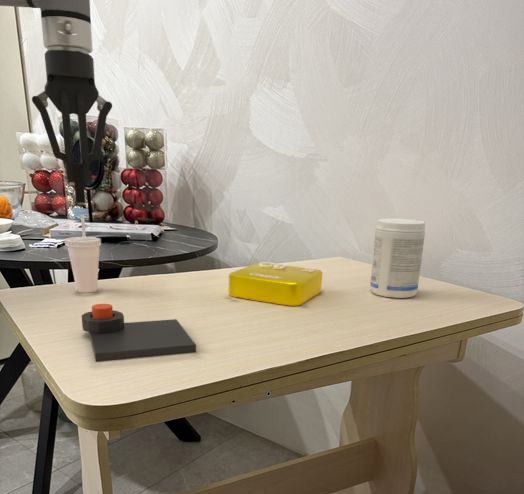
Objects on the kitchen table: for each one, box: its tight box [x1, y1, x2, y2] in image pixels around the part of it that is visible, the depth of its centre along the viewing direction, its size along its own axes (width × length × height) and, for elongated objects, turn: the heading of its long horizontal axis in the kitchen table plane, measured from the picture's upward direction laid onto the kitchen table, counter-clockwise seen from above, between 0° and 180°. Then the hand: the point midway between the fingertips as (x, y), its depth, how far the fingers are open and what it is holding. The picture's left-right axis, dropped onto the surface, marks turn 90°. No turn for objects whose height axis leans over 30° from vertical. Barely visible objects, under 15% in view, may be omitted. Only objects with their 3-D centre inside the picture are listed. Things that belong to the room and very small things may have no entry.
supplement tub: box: [369, 218, 426, 299], centre depth 105 cm, size 10×10×15 cm
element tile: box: [228, 261, 323, 307], centre depth 102 cm, size 15×15×5 cm
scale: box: [81, 309, 197, 363], centre depth 73 cm, size 14×13×3 cm
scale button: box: [91, 303, 114, 319], centre depth 74 cm, size 3×3×2 cm
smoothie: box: [64, 214, 102, 294], centre depth 97 cm, size 6×6×14 cm
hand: (80, 202), depth 93 cm, fingers closed
